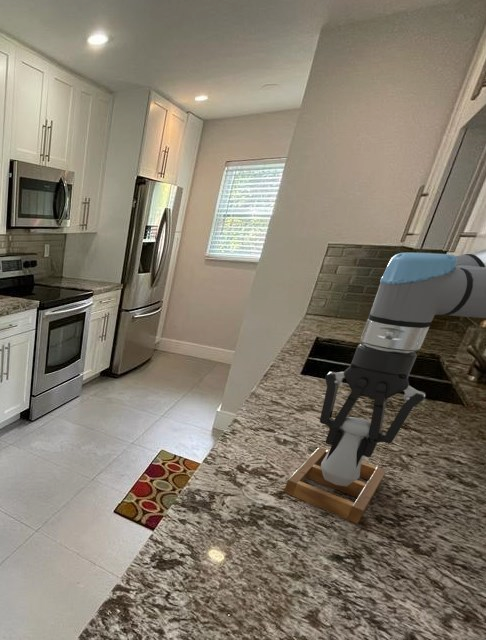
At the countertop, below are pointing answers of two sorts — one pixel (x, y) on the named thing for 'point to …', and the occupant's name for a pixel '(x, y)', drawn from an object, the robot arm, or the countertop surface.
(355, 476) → the salt shaker
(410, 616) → the countertop surface
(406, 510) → the countertop surface
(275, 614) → the countertop surface
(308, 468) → the frame
